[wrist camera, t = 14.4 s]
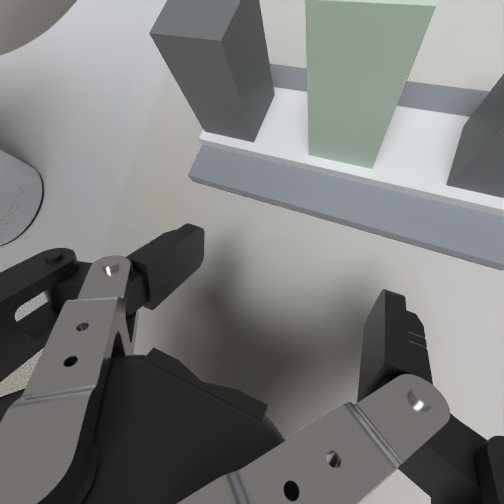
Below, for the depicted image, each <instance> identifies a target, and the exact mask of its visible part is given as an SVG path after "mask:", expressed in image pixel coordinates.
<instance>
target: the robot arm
mask: <svg viewBox="0 0 504 504" xmlns="http://www.w3.org/2000/svg"><path fill="white" fill-rule="evenodd" d="M41 198H42V182H41V179H40V176H39V174H38V173H37V171H36V170H35V169H34V168H32V167H31V166H29V165H28V164H26V163H24V162H22V161H20V160H19V159H17V158H15V157H13V156H11V155H10V154H8V153H6V152H4V151H2V150H0V245H3V244H6V243H8V242H9V241H11V240H13V239H15V238H16V237H17V236H18V235H20V234H21V233H22V232H23V231H24V230H25V229H26V228H27V226H28V225H29V224H30V222H31V221H32V219H33V218H34V216H35V214H36V212H37V210H38V208H39V205H40V201H41ZM203 258H204V230H203V228H201V227H198V226H195V225H192V224H185V225H184V226H182V227H181V228H179V229H177V230H173V231H170V232H166V233H164V234H162V235H160V236H159V237H157V238H156V239H154V240H152V241H151V242H150V243H149V244H146V245H144V246H143V247H141V248H140V249H138V250H136V251H135V252H133V253H132V254H130V255H128V256H127V257H122V256H108V257H104V258H101V259H99V260H97V261H95V262H94V263H87V262H79V261H77V258H76V255H75V252H74V251H73V250H71V249H67V248H55V249H50V250H46V251H43V252H41V253H39V254H37V255H35V256H33V257H31V258H29V259H27V260H25V261H23V262H21V263H19V264H17V265H15V266H13V267H11V268H9V269H7V270H5V271H3V272H1V273H0V382H1V381H2V380H3V379H5V378H6V377H7V376H8V375H10V374H11V373H12V372H14V371H15V370H16V369H17V368H19V367H20V366H21V365H22V364H24V363H25V362H26V361H27V360H29V359H30V358H31V357H32V356H34V355H35V354H36V353H37V352H39V351H40V350H41V349H42V348H44V349H43V352H42V354H41V356H40V358H39V360H38V363H37V365H36V367H35V369H34V371H33V374H32V376H31V378H30V380H29V382H28V384H27V387H26V388H25V389H22V390H20V391H17V392H14V393H11V394H8V395H5V396H2V397H0V504H359V503H360V502H361V501H362V500H363V499H365V498H366V497H367V496H368V495H369V494H370V493H371V492H372V491H373V490H374V489H376V488H377V487H378V486H379V485H380V484H381V483H382V482H383V481H384V480H386V479H387V478H388V477H389V476H390V475H391V474H392V473H393V472H394V471H395V470H397V469H399V470H400V471H401V472H403V473H404V474H405V475H406V476H407V477H408V478H409V479H411V480H412V481H413V482H414V483H415V484H416V485H417V486H419V487H420V488H421V489H422V490H423V491H424V492H425V493H427V494H428V495H429V496H430V497H431V504H504V436H494V437H492V438H490V439H489V440H486V439H485V438H483V437H482V436H480V435H479V434H478V433H476V432H475V431H473V430H472V429H470V428H469V427H467V426H466V425H465V424H463V423H462V422H460V421H459V420H458V419H456V418H455V417H454V416H453V415H452V414H451V413H450V410H449V406H448V404H447V402H446V400H445V398H444V397H443V395H442V394H441V393H440V392H439V391H438V390H437V389H436V388H435V387H434V386H433V382H432V376H431V370H430V364H429V358H428V351H427V349H426V347H427V345H426V339H425V333H424V326H423V324H422V323H421V321H420V320H419V318H418V317H417V315H416V314H415V313H412V312H409V311H406V302H405V296H403V295H400V294H397V293H394V292H391V291H388V290H385V289H383V290H382V291H381V293H380V295H379V297H378V299H377V301H376V303H375V305H374V307H373V309H372V310H371V312H370V314H369V316H368V319H367V321H366V324H365V328H364V335H363V345H362V356H361V366H360V377H359V387H358V398H357V403H356V404H354V405H353V404H352V403H351V402H348V403H346V404H344V405H342V406H340V407H339V408H337V409H335V410H334V411H332V412H331V413H329V414H327V415H326V416H324V417H323V418H321V419H320V420H318V421H316V422H315V423H313V424H312V425H310V426H308V427H307V428H305V429H304V430H302V431H300V432H299V433H297V434H296V435H294V436H293V437H291V438H289V439H288V440H286V441H285V440H284V438H283V436H282V435H281V433H280V432H279V430H278V429H277V428H276V427H275V425H274V424H273V423H272V422H271V421H270V420H269V419H268V418H267V417H266V416H265V413H266V410H267V407H268V405H266V404H264V403H262V402H260V401H258V400H256V399H254V398H252V397H250V396H248V395H246V394H244V393H242V392H241V391H239V390H236V389H231V388H227V387H222V386H218V385H213V384H208V383H204V382H202V381H200V380H199V379H198V378H197V377H196V376H195V375H194V374H193V373H192V372H191V371H190V370H189V369H188V368H187V367H185V366H184V365H183V364H182V363H181V362H180V361H179V360H177V359H175V358H173V357H171V356H169V355H167V354H165V353H163V352H161V351H159V350H157V349H156V348H153V349H152V350H151V351H150V352H149V353H148V354H147V356H145V355H134V345H135V337H136V330H137V323H138V316H139V312H138V309H140V308H141V307H142V306H144V307H146V308H148V309H150V310H154V309H155V308H156V307H157V306H158V305H159V304H160V303H161V302H162V301H163V300H164V299H165V298H167V297H168V296H169V295H170V294H171V293H172V292H173V291H174V290H175V289H176V288H177V287H178V286H180V285H181V284H182V283H183V282H184V281H185V280H186V279H187V278H188V277H189V276H190V275H191V274H193V273H194V272H195V271H196V270H197V269H198V268H199V267H200V265H201V264H202V261H203ZM42 292H44V293H45V295H46V298H47V300H48V302H47V303H45V304H44V305H42V306H41V307H39V308H38V309H36V310H35V311H33V312H31V313H30V314H28V315H27V316H25V317H24V318H22V319H21V320H19V321H18V322H16V320H15V318H14V316H15V312H16V311H17V309H18V308H19V307H20V306H21V305H23V304H24V303H26V302H27V301H29V300H31V299H32V298H34V297H36V296H37V295H39V294H40V293H42Z"/></svg>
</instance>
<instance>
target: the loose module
mask: <svg viewBox="0 0 504 504" xmlns="http://www.w3.org/2000/svg"><path fill="white" fill-rule="evenodd" d="M437 2H438V0H305V3H306V52H307V101H308V150H309V155H310V156H315V157H319V158H324V159H328V160H333V161H337V162H342V163H346V164H351V165H356V166H360V167H365V168H369V169H372V168H373V165H374V163H375V160H376V158H377V155H378V152H379V150H380V147H381V145H382V142H383V140H384V137H385V135H386V132H387V130H388V127H389V124H390V122H391V119H392V117H393V114H394V112H395V109H396V107H397V104H398V102H399V99H400V96H401V94H402V91H403V89H404V86H405V84H406V81H407V79H408V76H409V73H410V71H411V68H412V66H413V63H414V61H415V58H416V56H417V53H418V51H419V48H420V45H421V43H422V40H423V38H424V35H425V33H426V30H427V28H428V25H429V23H430V20H431V17H432V15H433V12H434V10H435V7H436V5H437Z"/></svg>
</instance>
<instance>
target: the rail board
mask: <svg viewBox="0 0 504 504" xmlns="http://www.w3.org/2000/svg"><path fill="white" fill-rule="evenodd" d="M150 35H151V37H152V39H153V41H154V42H155V44H156V46H157V48H158V49H159V51H160V53H161V55H162V57H163V58H164V60H165V62H166V64H167V65H168V67H169V69H170V71H171V73H172V74H173V76H174V78H175V80H176V81H177V83H178V85H179V87H180V89H181V90H182V92H183V94H184V96H185V97H186V99H187V101H188V103H189V104H190V106H191V108H192V110H193V112H194V113H195V115H196V117H197V119H198V120H199V122H200V124H201V126H202V128H203V131H202V133H201V135H200V137H199V140H200V142H201V143H202V147H201V149H200V151H199V153H198V155H197V157H196V159H195V162H194V164H193V166H192V168H191V170H190V172H189V174H188V176H189V177H190V178H191V179H192V181H194V182H197V183H201V184H204V185H208V186H211V187H215V188H218V189H222V190H225V191H228V192H232V193H235V194H239V195H242V196H246V197H249V198H253V199H256V200H260V201H263V202H267V203H270V204H273V205H277V206H280V207H284V208H287V209H291V210H294V211H298V212H301V213H305V214H308V215H312V216H315V217H318V218H322V219H325V220H329V221H332V222H336V223H339V224H343V225H346V226H350V227H353V228H356V229H360V230H363V231H367V232H370V233H374V234H377V235H381V236H384V237H388V238H391V239H395V240H398V241H401V242H405V243H408V244H412V245H415V246H419V247H422V248H426V249H429V250H433V251H436V252H439V253H443V254H446V255H450V256H453V257H457V258H460V259H464V260H467V261H471V262H474V263H478V264H481V265H484V266H488V267H491V268H495V269H498V270H504V74H503V76H502V77H501V78H500V79H499V81H498V82H497V83H496V85H495V86H494V87H493V89H492V90H491V91H490V92H487V91H479V90H471V89H463V88H456V87H448V86H440V85H432V84H424V83H416V82H408V81H406V84H405V86H404V89H403V91H402V94H401V96H400V99H399V102H398V104H397V107H396V109H395V112H394V114H393V117H392V119H391V122H390V124H389V127H388V130H387V132H386V135H385V137H384V140H383V142H382V145H381V147H380V150H379V152H378V155H377V158H376V160H375V163H374V165H373V168H372V169H369V168H365V167H360V166H356V165H351V164H346V163H342V162H337V161H333V160H328V159H324V158H319V157H315V156H310V155H309V150H308V101H307V69H306V68H298V67H290V66H282V65H274V64H269V58H268V52H267V46H266V40H265V34H264V28H263V22H262V16H261V9H260V3H259V0H167V2H166V4H165V5H164V7H163V9H162V11H161V13H160V15H159V16H158V18H157V20H156V22H155V24H154V25H153V27H152V29H151V31H150Z"/></svg>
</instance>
